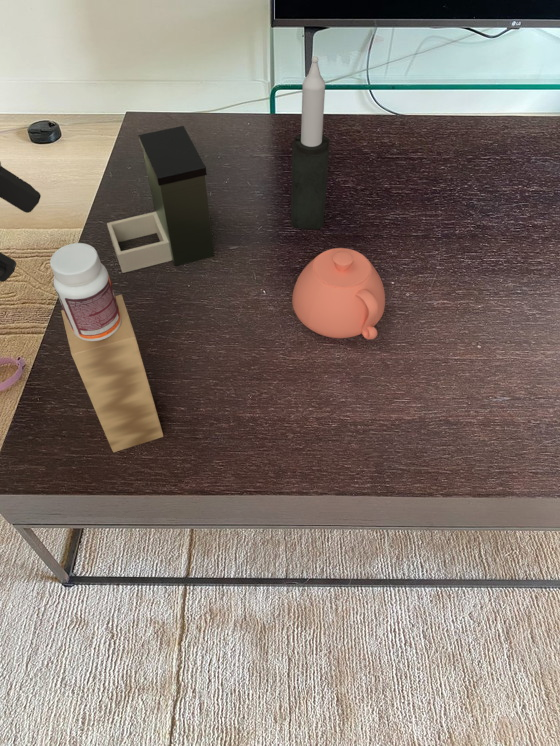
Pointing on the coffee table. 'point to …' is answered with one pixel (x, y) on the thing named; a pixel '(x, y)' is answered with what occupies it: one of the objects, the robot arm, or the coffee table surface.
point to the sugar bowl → (339, 295)
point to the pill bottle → (85, 292)
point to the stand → (117, 384)
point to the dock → (142, 254)
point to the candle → (310, 156)
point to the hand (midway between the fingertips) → (24, 237)
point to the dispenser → (179, 193)
